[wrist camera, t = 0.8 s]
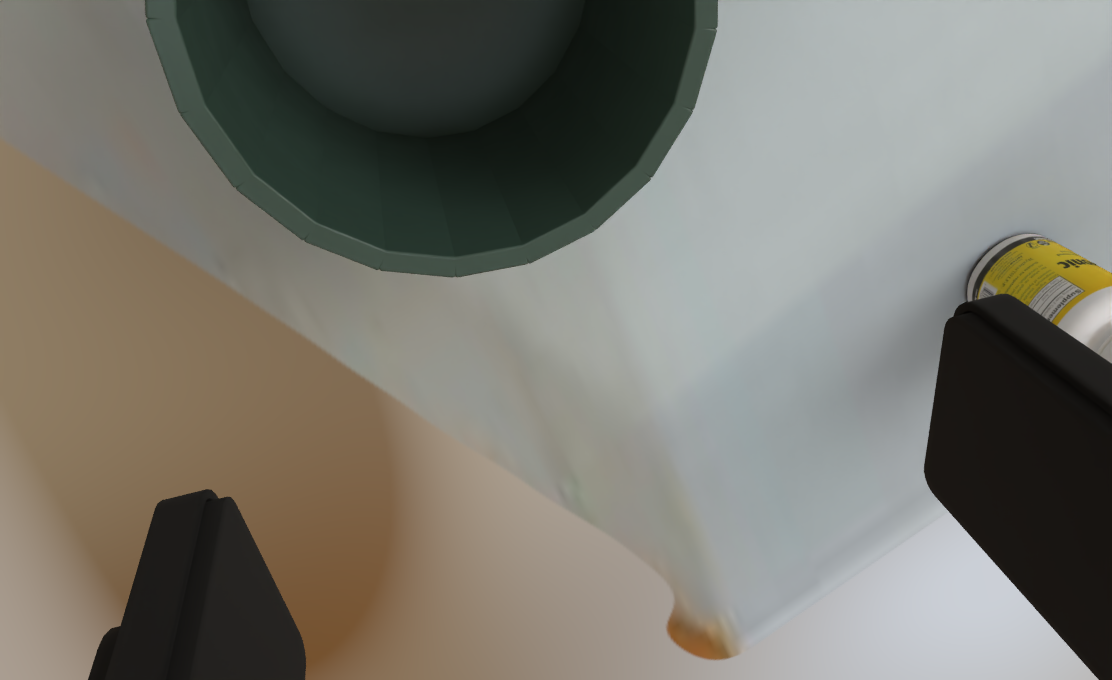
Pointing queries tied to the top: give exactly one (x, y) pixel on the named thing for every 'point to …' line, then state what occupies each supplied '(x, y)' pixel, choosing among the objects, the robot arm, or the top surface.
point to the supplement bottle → (1050, 287)
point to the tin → (436, 116)
